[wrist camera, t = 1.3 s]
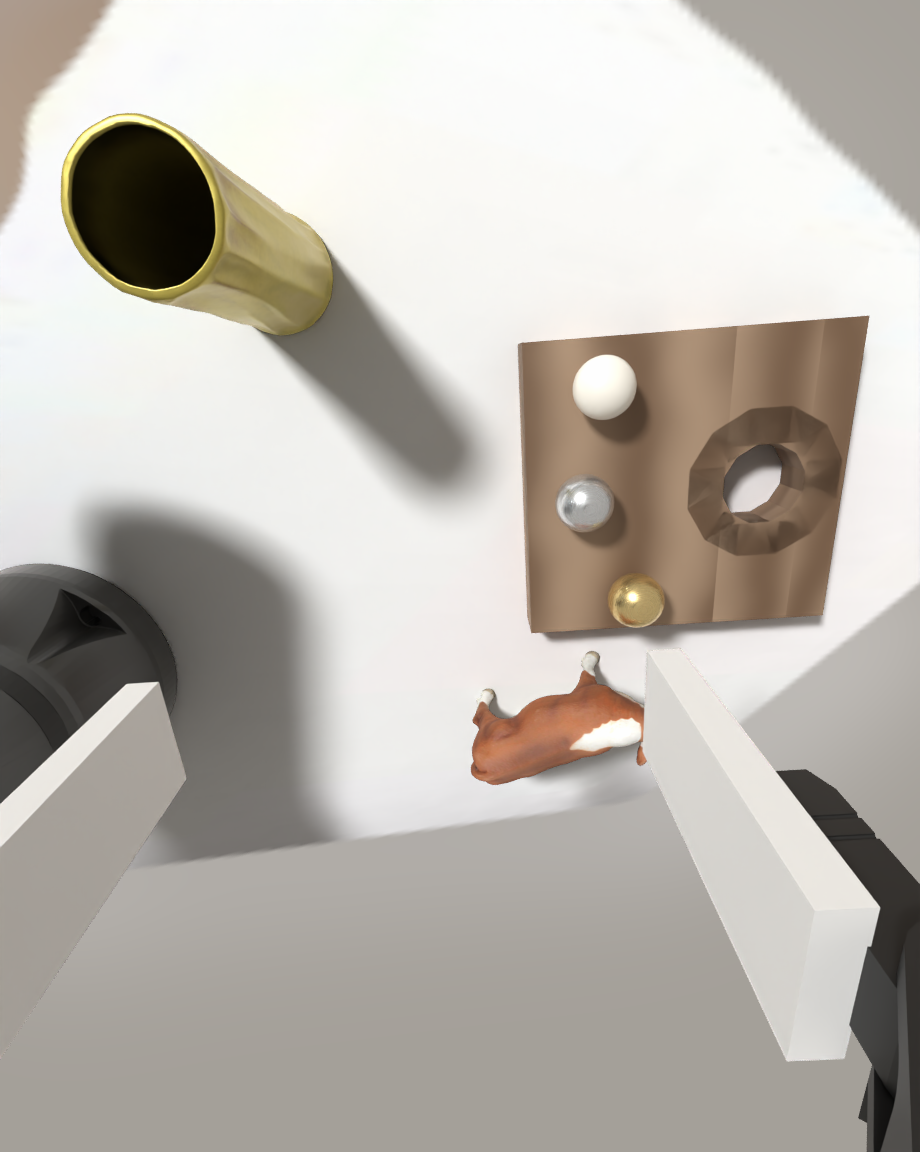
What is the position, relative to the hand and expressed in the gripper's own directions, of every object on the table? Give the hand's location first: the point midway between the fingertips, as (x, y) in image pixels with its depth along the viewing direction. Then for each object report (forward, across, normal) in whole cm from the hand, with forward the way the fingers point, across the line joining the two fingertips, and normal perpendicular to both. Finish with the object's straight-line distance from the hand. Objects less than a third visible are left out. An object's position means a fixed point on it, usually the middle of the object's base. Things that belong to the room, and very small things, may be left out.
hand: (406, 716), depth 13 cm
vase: (+24, -8, +13) cm, 29 cm away
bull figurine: (+24, +7, -14) cm, 29 cm away
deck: (+24, +14, 0) cm, 28 cm away
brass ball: (+20, +11, -6) cm, 23 cm away
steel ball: (+20, +8, 0) cm, 21 cm away
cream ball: (+20, +9, +6) cm, 23 cm away
